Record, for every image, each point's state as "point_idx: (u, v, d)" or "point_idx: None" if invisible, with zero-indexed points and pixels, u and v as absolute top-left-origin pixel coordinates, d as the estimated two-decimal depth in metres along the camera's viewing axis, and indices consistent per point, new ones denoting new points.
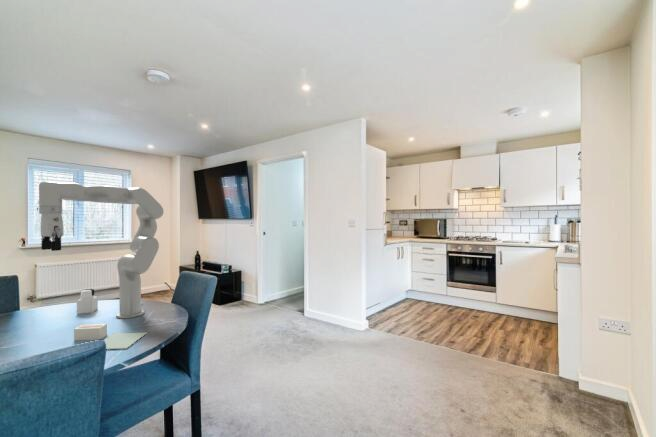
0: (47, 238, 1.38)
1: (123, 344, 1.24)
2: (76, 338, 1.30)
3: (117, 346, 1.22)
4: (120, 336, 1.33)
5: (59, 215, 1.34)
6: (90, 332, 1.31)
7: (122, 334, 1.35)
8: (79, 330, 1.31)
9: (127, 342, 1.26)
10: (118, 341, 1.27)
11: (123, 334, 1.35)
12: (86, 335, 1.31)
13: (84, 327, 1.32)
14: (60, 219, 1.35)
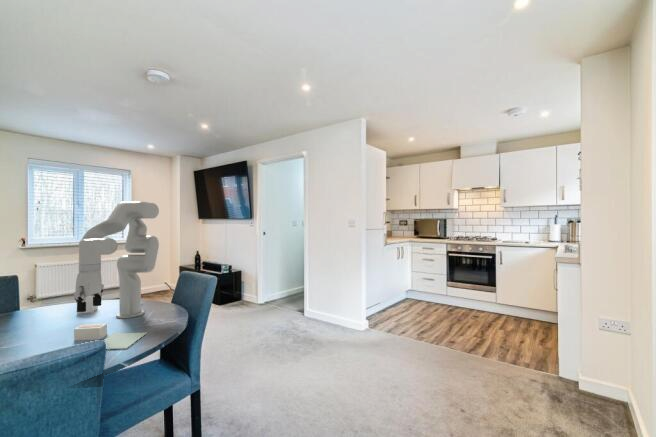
0: None
1: (123, 344, 1.24)
2: (76, 338, 1.30)
3: (117, 346, 1.22)
4: (120, 336, 1.33)
5: None
6: (90, 332, 1.31)
7: (122, 334, 1.35)
8: (79, 330, 1.30)
9: (127, 342, 1.26)
10: (118, 341, 1.27)
11: (123, 334, 1.35)
12: (86, 335, 1.31)
13: (84, 327, 1.32)
14: None
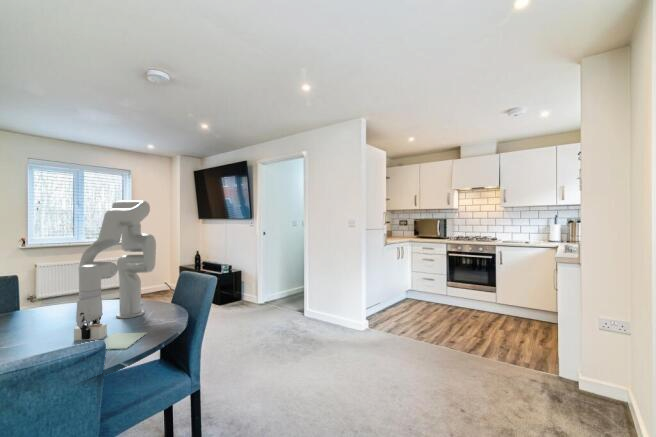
0: None
1: (123, 344, 1.24)
2: (76, 338, 1.30)
3: (117, 346, 1.22)
4: (120, 336, 1.33)
5: None
6: None
7: (122, 334, 1.35)
8: (79, 330, 1.30)
9: (127, 342, 1.26)
10: (118, 341, 1.27)
11: (123, 334, 1.35)
12: None
13: None
14: None
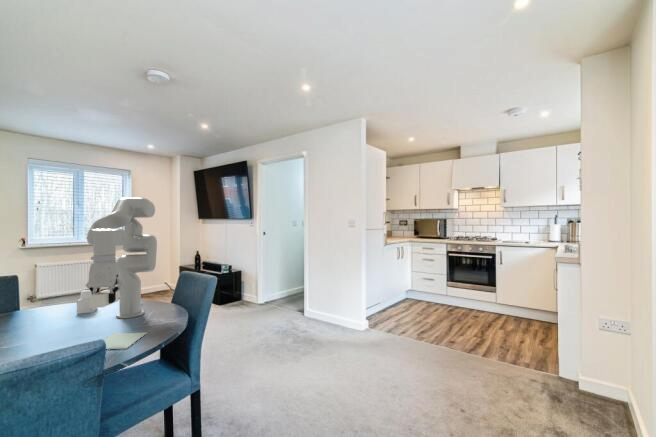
0: None
1: (123, 344, 1.24)
2: (104, 304, 1.27)
3: (117, 346, 1.22)
4: (120, 336, 1.33)
5: None
6: None
7: (122, 334, 1.35)
8: (106, 295, 1.28)
9: (127, 342, 1.26)
10: (118, 341, 1.27)
11: (123, 334, 1.35)
12: None
13: (105, 292, 1.29)
14: None
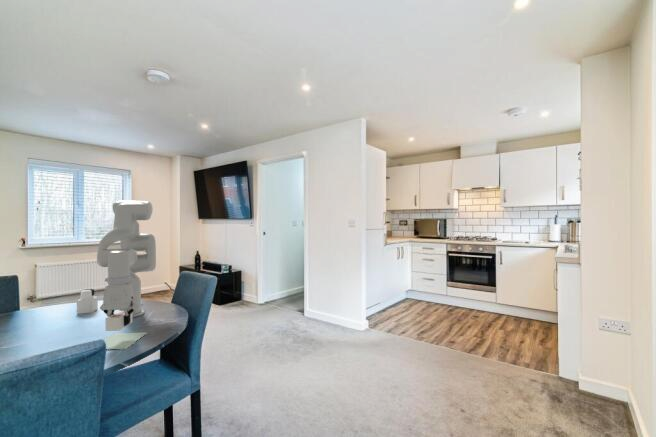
0: None
1: (123, 344, 1.24)
2: (120, 327, 1.25)
3: (117, 346, 1.22)
4: (120, 336, 1.33)
5: None
6: None
7: (122, 334, 1.35)
8: (121, 318, 1.26)
9: (127, 342, 1.26)
10: (118, 341, 1.27)
11: (123, 334, 1.35)
12: None
13: (120, 315, 1.27)
14: None
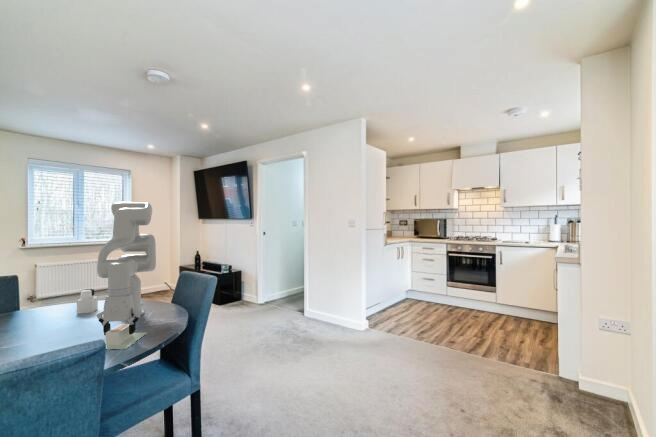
0: None
1: (123, 344, 1.24)
2: (120, 341, 1.25)
3: (117, 346, 1.22)
4: None
5: None
6: (127, 331, 1.30)
7: None
8: (121, 332, 1.26)
9: (127, 342, 1.26)
10: None
11: None
12: (125, 335, 1.29)
13: (120, 329, 1.27)
14: None
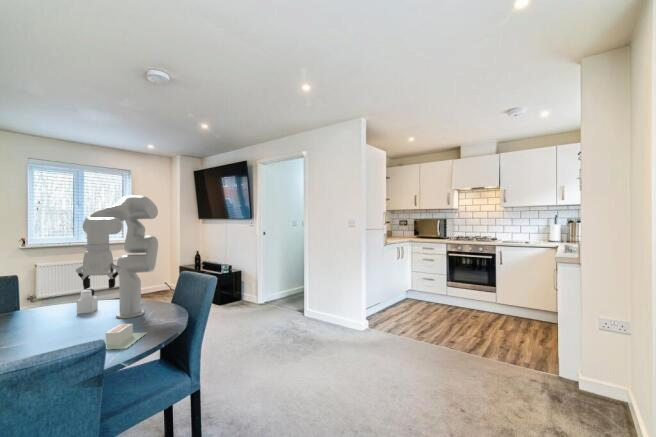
0: None
1: (123, 344, 1.24)
2: (120, 341, 1.25)
3: (117, 346, 1.22)
4: None
5: None
6: (127, 331, 1.30)
7: None
8: (121, 332, 1.26)
9: (127, 342, 1.26)
10: None
11: None
12: (125, 335, 1.29)
13: (120, 329, 1.27)
14: None
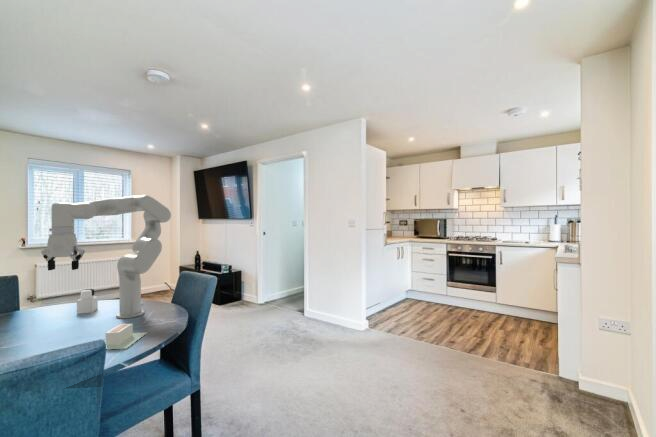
0: None
1: (123, 344, 1.24)
2: (120, 341, 1.25)
3: (117, 346, 1.22)
4: None
5: None
6: (127, 331, 1.30)
7: None
8: (121, 332, 1.26)
9: (127, 342, 1.26)
10: None
11: None
12: (125, 335, 1.29)
13: (120, 329, 1.27)
14: None
